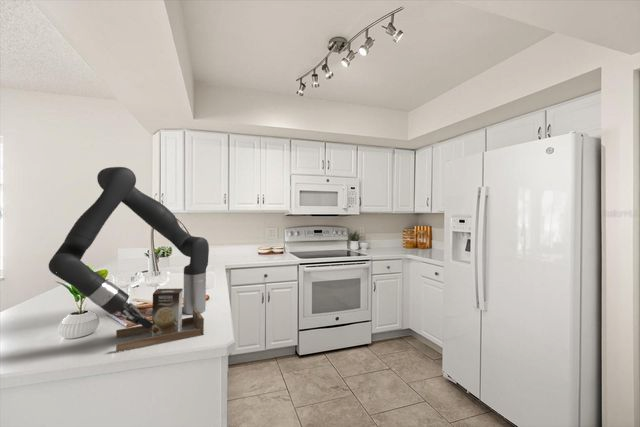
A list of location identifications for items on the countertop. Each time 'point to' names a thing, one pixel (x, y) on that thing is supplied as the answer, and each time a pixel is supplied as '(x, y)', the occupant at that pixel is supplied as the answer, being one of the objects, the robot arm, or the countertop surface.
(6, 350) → the countertop surface
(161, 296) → the coffee box
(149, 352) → the countertop surface
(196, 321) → the walnut chute
